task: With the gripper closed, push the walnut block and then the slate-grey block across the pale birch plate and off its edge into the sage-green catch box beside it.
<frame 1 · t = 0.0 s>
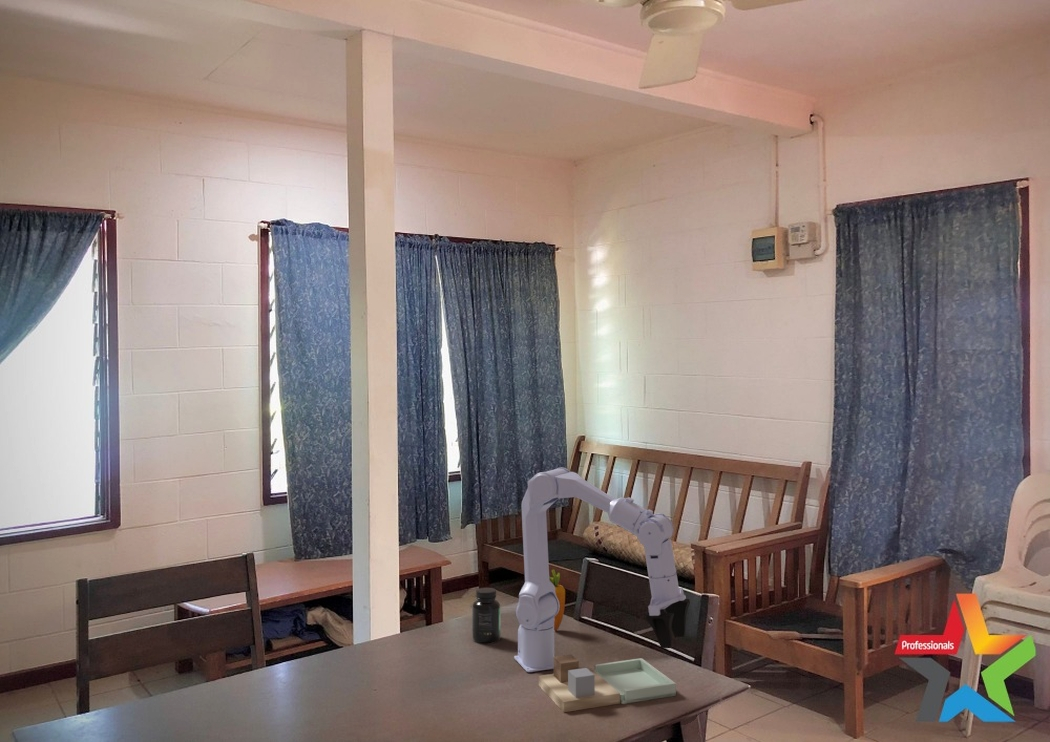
hand: (673, 641, 172), 11 cm above the table, tool pointing down, fingers open, 7 cm apart
catch box: (632, 685, 176), on the table
carrot: (555, 631, 211), on the table
slate block: (581, 692, 168), point 2 cm above the table, touching birch plate
walnut block: (566, 677, 176), point 2 cm above the table, touching birch plate
supplement bottle: (486, 640, 205), on the table
birch plate: (578, 694, 172), on the table
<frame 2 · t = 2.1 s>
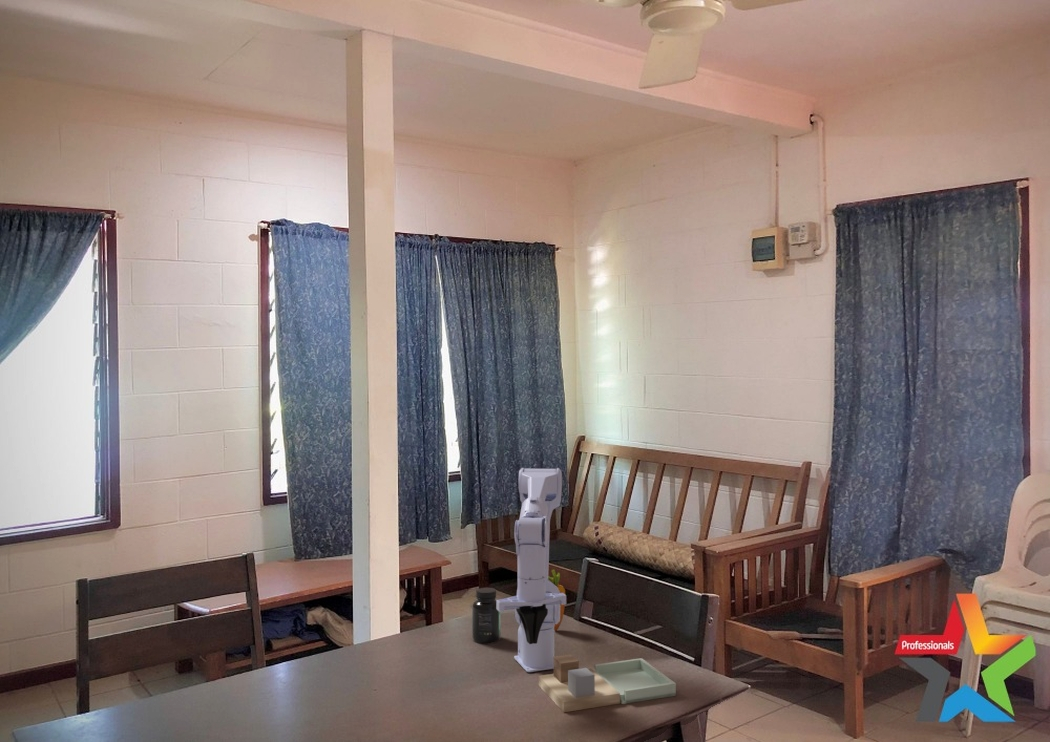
hand: (531, 642, 173), 10 cm above the table, tool pointing down, fingers closed
nothing on the table moved.
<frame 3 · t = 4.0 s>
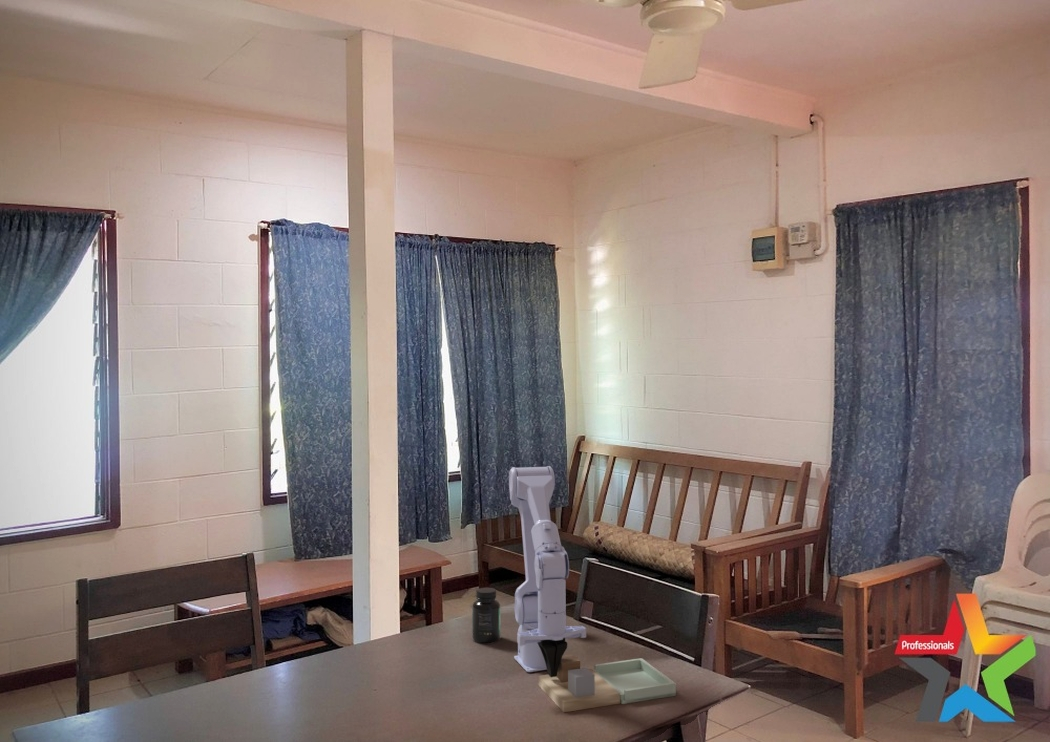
hand: (552, 675, 175), 3 cm above the table, tool pointing down, fingers closed
walnut block: (567, 677, 176), point 2 cm above the table, touching gripper
everything else where it was.
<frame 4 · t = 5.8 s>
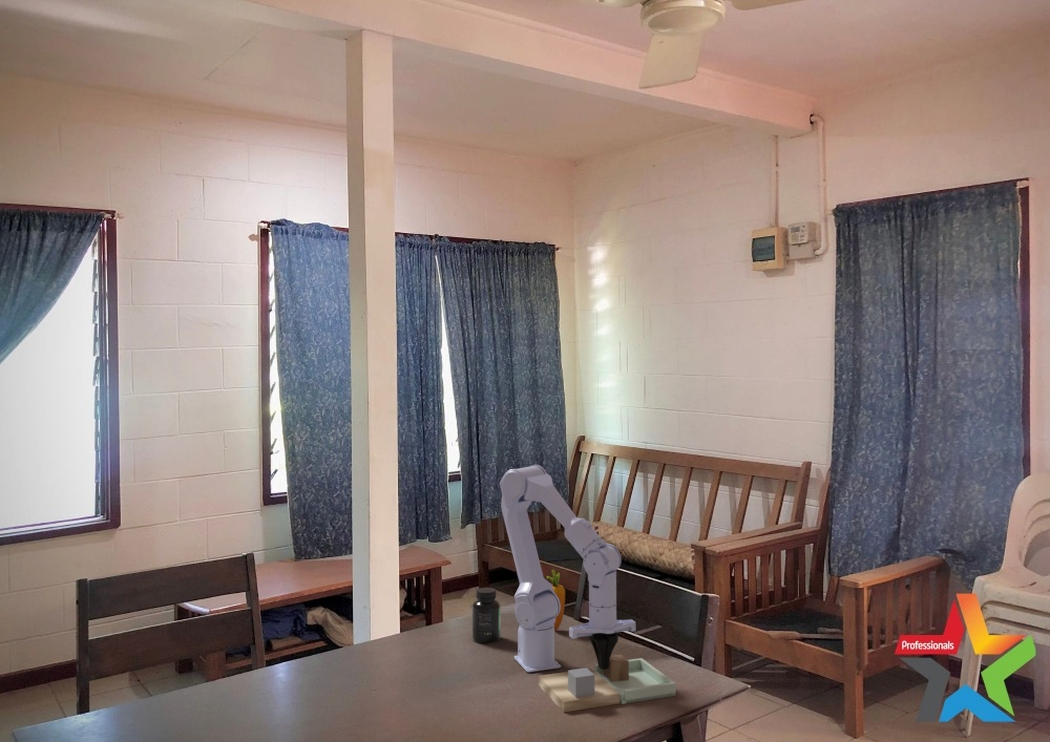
hand: (602, 667, 178), 3 cm above the table, tool pointing down, fingers closed
walnut block: (607, 669, 179), point 3 cm above the table, tilted 90°, touching catch box, gripper
everything else where it was.
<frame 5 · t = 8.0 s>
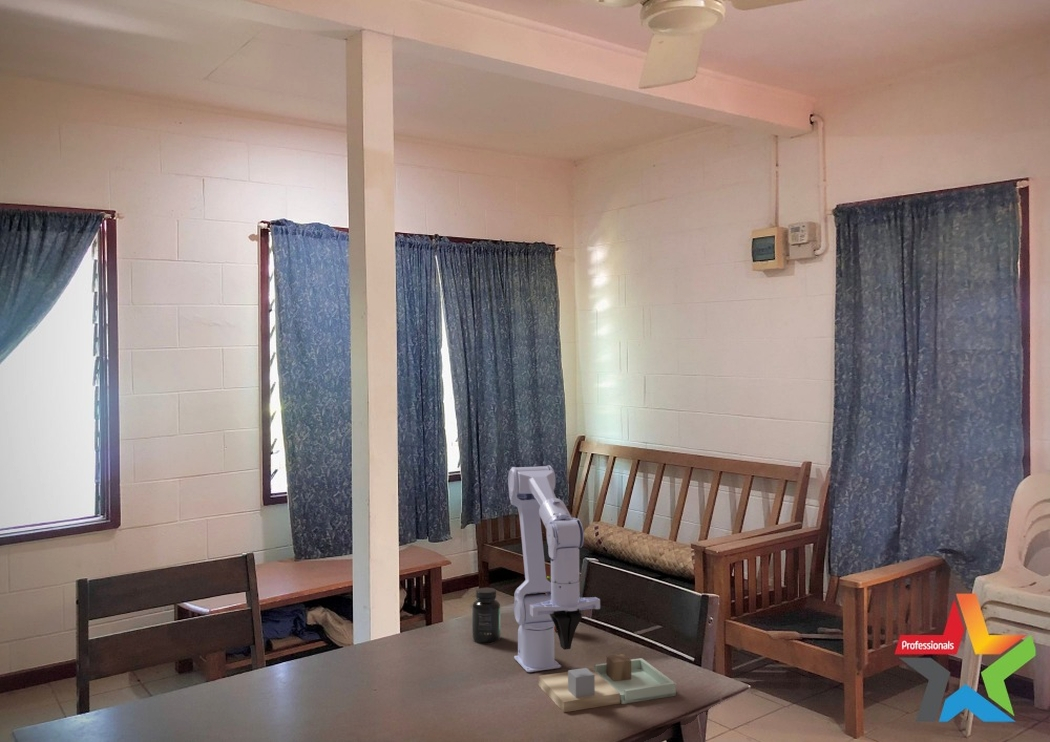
hand: (565, 647, 169), 10 cm above the table, tool pointing down, fingers closed
walnut block: (610, 668, 179), point 3 cm above the table, tilted 90°, touching catch box
everything else where it was.
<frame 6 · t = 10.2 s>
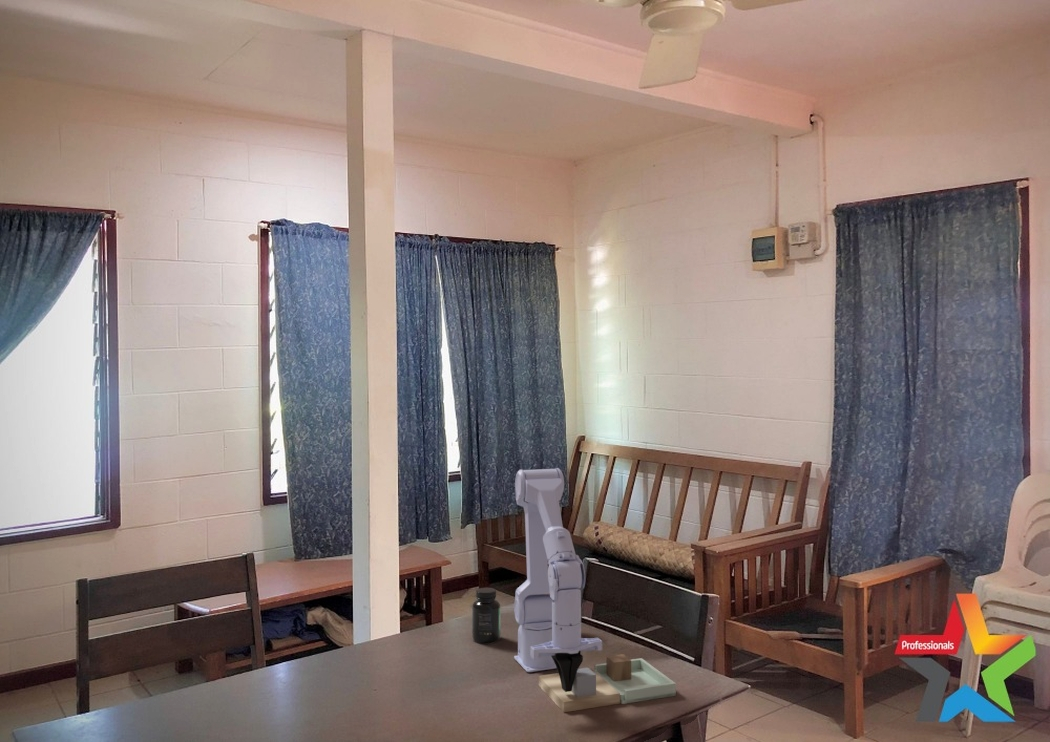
hand: (566, 689, 167), 3 cm above the table, tool pointing down, fingers closed
slate block: (582, 692, 168), point 2 cm above the table, touching gripper
everything else where it was.
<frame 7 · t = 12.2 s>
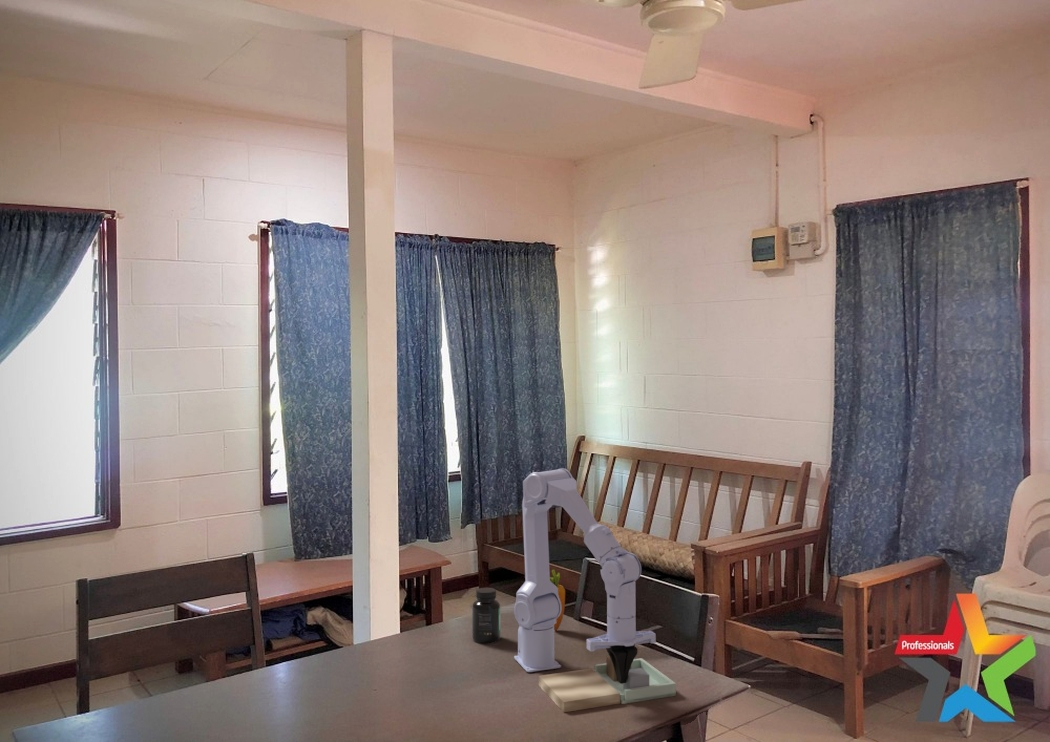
hand: (621, 681, 171), 3 cm above the table, tool pointing down, fingers closed
slate block: (627, 683, 171), point 3 cm above the table, tilted 90°, touching catch box, gripper
everything else where it was.
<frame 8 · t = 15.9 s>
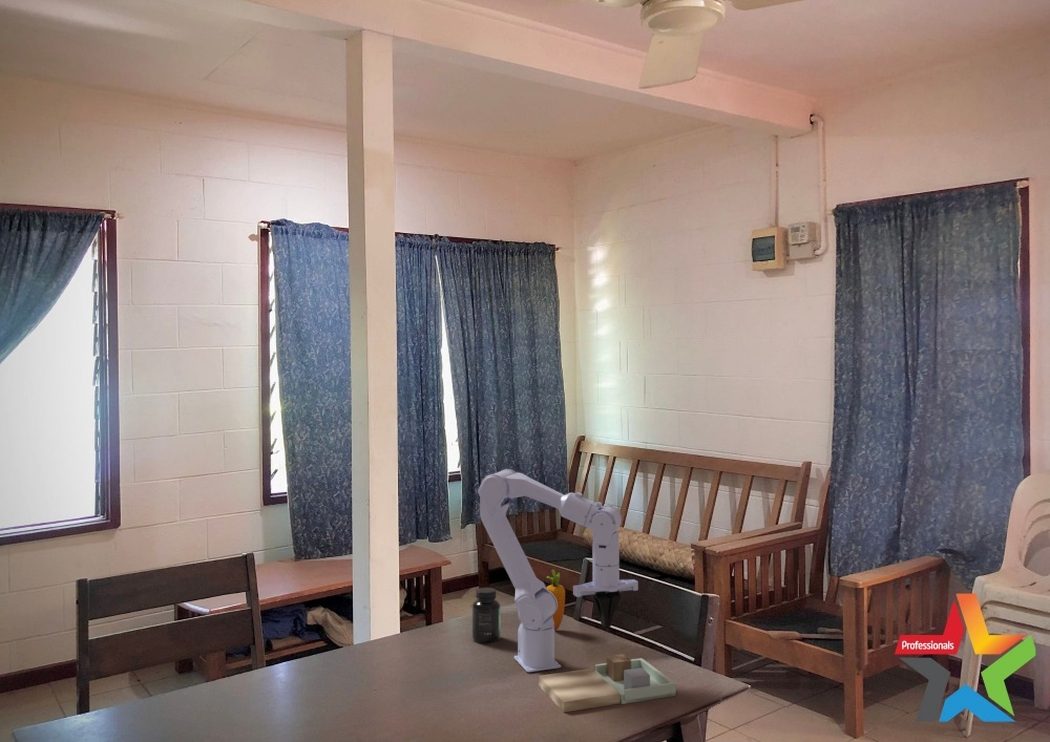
hand: (606, 625, 183), 10 cm above the table, tool pointing down, fingers closed
slate block: (627, 683, 171), point 3 cm above the table, tilted 90°, touching catch box
everything else where it was.
at the end: walnut block inside the target area on the catch box (5.5 cm from its centre), point 2.6 cm above the catch box's base; slate block inside the target area on the catch box (5.8 cm from its centre), point 2.6 cm above the catch box's base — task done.
